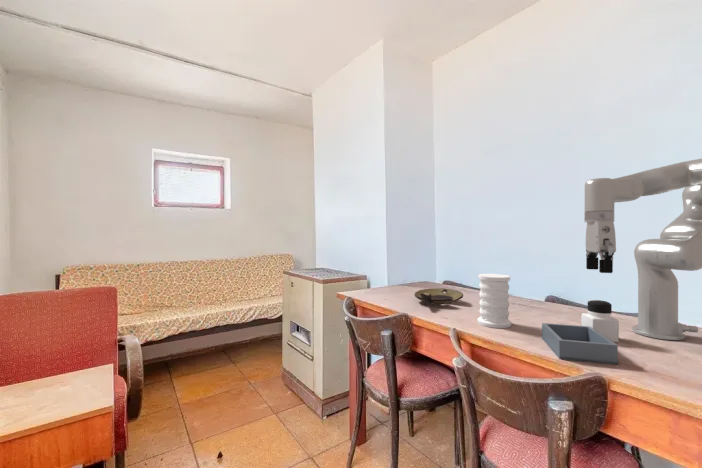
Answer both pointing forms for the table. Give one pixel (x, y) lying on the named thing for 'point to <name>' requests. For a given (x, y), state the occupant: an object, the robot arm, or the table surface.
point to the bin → (579, 343)
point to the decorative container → (494, 301)
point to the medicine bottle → (601, 319)
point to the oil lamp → (438, 296)
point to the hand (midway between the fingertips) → (598, 270)
